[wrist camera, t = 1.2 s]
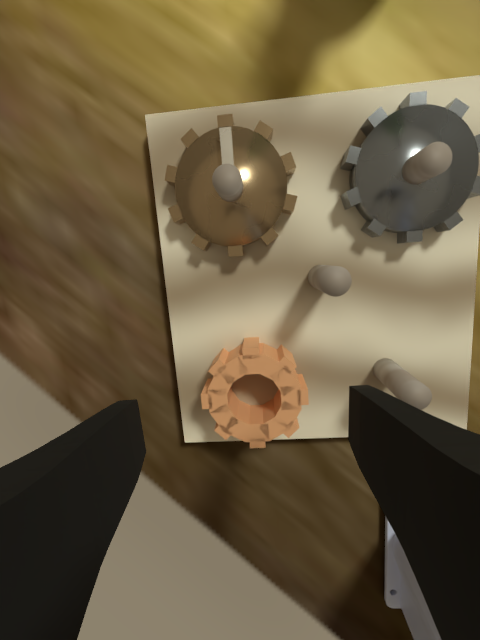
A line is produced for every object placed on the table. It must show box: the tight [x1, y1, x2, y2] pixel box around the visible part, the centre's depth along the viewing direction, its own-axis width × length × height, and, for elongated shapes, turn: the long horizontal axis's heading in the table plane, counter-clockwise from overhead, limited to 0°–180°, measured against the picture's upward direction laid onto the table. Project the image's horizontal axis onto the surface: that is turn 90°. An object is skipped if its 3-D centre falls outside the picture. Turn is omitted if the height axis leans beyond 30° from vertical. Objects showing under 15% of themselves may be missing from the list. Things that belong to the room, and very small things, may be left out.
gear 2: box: [340, 91, 480, 244], centre depth 16 cm, size 7×7×1 cm
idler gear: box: [201, 337, 309, 448], centre depth 19 cm, size 6×6×2 cm
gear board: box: [145, 75, 480, 443], centre depth 17 cm, size 20×18×5 cm
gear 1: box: [165, 114, 297, 257], centre depth 17 cm, size 7×7×2 cm
